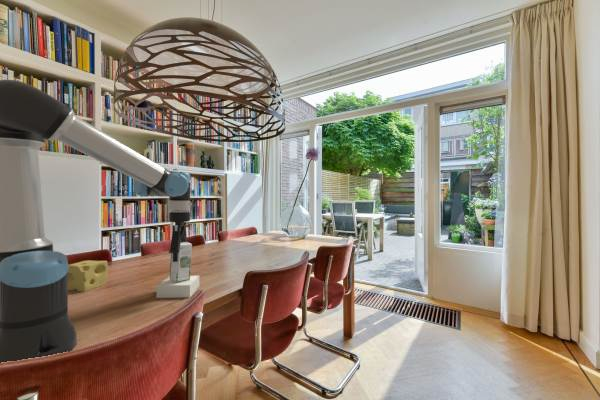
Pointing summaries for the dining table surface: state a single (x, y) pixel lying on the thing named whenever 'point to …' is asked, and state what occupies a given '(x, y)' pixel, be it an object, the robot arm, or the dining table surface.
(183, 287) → the cream block
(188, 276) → the syrup box
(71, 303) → the dining table surface
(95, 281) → the cheese
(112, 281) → the dining table surface
